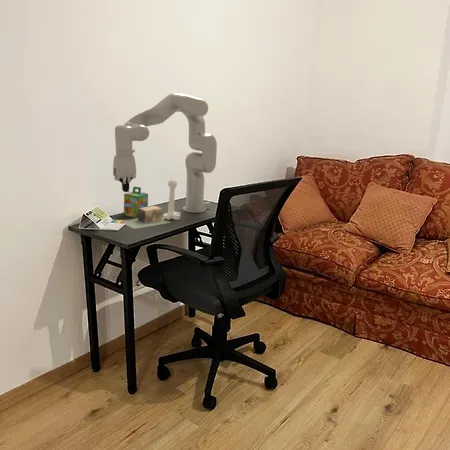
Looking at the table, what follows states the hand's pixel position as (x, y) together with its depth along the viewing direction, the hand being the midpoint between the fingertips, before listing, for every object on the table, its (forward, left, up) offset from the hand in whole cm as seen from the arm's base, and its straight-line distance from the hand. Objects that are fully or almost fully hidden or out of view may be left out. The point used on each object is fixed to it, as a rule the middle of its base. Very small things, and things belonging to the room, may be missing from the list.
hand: (125, 191), depth 225 cm
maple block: (-8, 0, -13) cm, 15 cm away
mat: (-10, +2, -16) cm, 19 cm away
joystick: (-25, +3, -16) cm, 30 cm away
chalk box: (-12, -12, -17) cm, 24 cm away
